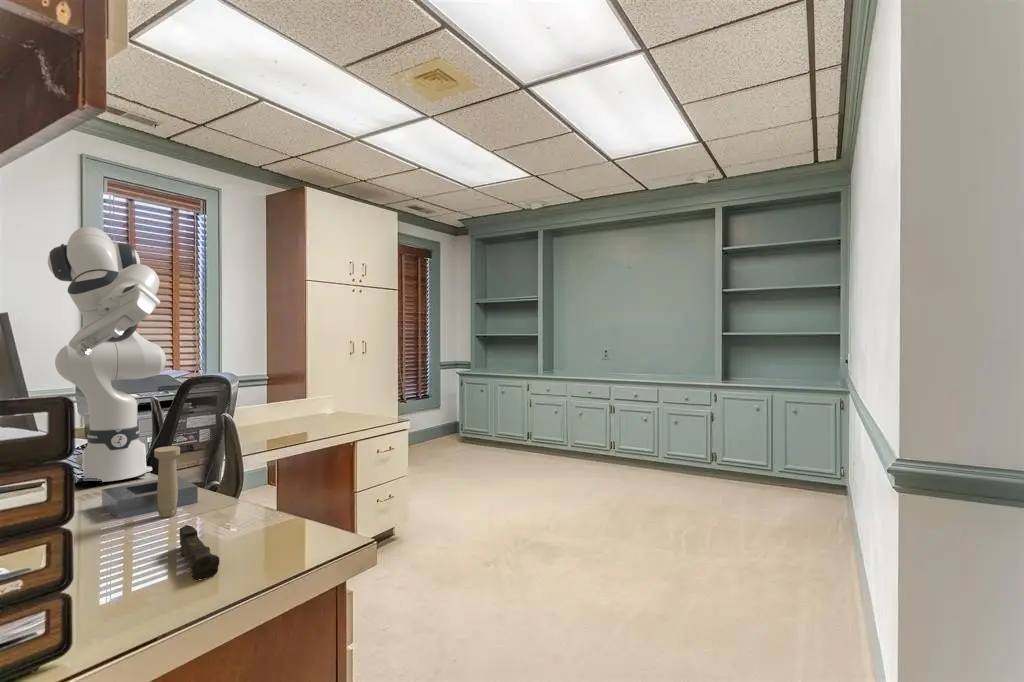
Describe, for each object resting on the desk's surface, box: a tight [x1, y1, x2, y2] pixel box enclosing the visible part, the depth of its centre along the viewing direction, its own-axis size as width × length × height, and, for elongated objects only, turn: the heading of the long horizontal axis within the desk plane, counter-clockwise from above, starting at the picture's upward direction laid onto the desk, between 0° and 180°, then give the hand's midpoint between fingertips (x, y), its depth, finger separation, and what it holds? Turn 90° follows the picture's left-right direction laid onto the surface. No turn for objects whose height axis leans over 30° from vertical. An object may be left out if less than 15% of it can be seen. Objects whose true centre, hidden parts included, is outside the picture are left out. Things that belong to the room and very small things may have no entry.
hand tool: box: [179, 524, 221, 581], centre depth 95 cm, size 19×4×5 cm, turn 39°
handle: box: [153, 445, 181, 519], centre depth 119 cm, size 5×6×15 cm
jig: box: [101, 475, 199, 520], centre depth 128 cm, size 14×16×4 cm
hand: (98, 344), depth 117 cm, fingers open, 8 cm apart
